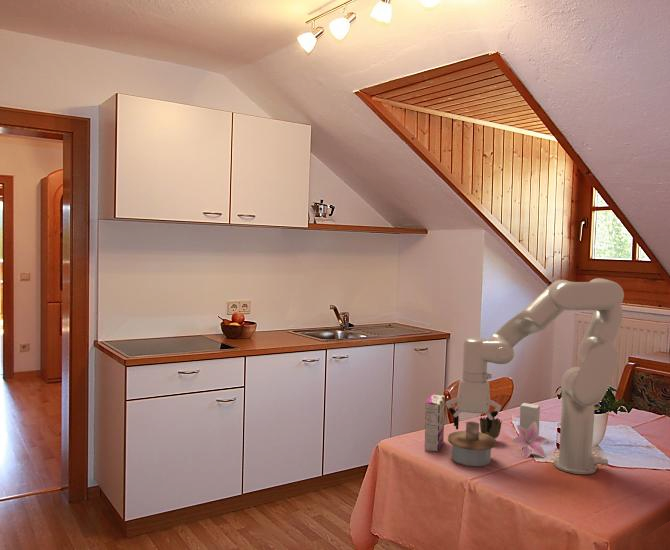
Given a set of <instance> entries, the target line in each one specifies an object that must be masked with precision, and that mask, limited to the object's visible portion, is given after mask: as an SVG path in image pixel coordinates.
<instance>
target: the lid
mask: <svg viewBox="0 0 670 550" xmlns="http://www.w3.org/2000/svg"><path fill="white" fill-rule="evenodd" d="M465 423H466V425H465V430H462V431H461V430H459V431H454V432H451V433H450V434H448V436H447V440H448V442H449V444H451V446H452V445H454V446H457V447H460V448H464V449H469V450H488V449H491V450H492V449H493V448H496V447H497V440H496V439H497V438H493V437H492V436H490V435H487V434H484V433H481V431H480V422H477V421H467V422H465Z"/></svg>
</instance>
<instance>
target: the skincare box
mask: <svg viewBox="0 0 670 550" xmlns="http://www.w3.org/2000/svg"><path fill="white" fill-rule="evenodd" d="M519 410H520V411H519V426H521V427H522V428H524V429H525V430H526V431H527V429H528V428H529V426H530V425H531V424H532V423H533V422H536V424H537V428H538V436H540V435H539V434H540V413H541V412H540V410H541V405H539V404H533V403H527V402H523V403H522V404H520V406H519ZM518 436H520V434H519V433H518Z"/></svg>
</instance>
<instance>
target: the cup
mask: <svg viewBox="0 0 670 550" xmlns="http://www.w3.org/2000/svg"><path fill="white" fill-rule="evenodd" d="M487 418H488V417H487V416H486V417H481V416H480V418H479V431H480V433H484V434H487V435H490V436H492V437H493V438H495V439H497V438H498V437H499V436H500V434H501V428H502V423H503V421H502V420H501V419H499V417H497V418H495V417H494V418H493V419H492V428H491V429H489V432H487V429H486V428H487Z"/></svg>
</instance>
